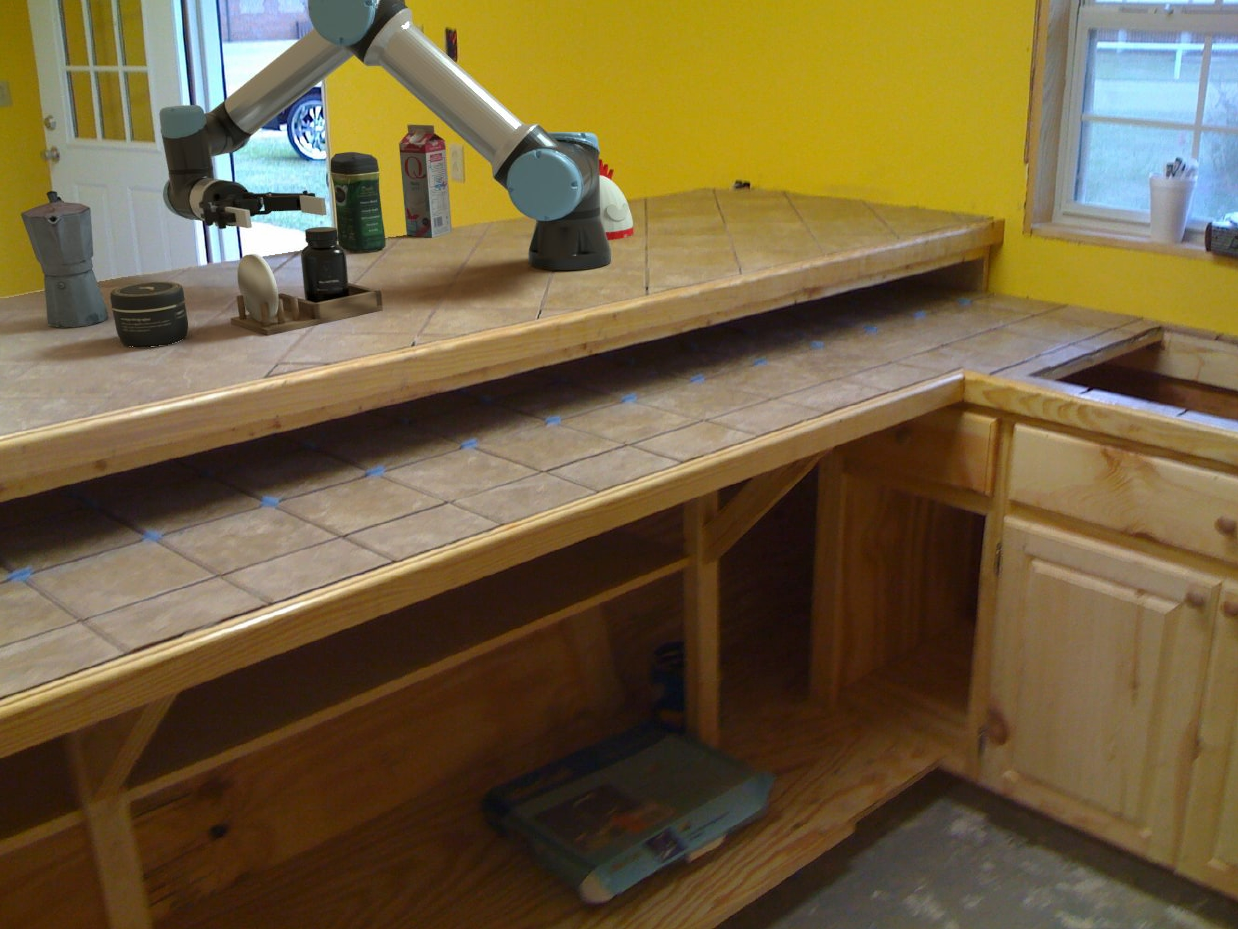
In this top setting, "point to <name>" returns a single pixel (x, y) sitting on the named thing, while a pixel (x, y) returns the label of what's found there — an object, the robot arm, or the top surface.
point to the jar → (150, 313)
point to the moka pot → (66, 261)
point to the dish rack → (291, 302)
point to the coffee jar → (357, 202)
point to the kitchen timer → (613, 207)
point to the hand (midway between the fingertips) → (287, 212)
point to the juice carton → (425, 182)
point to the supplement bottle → (324, 266)
